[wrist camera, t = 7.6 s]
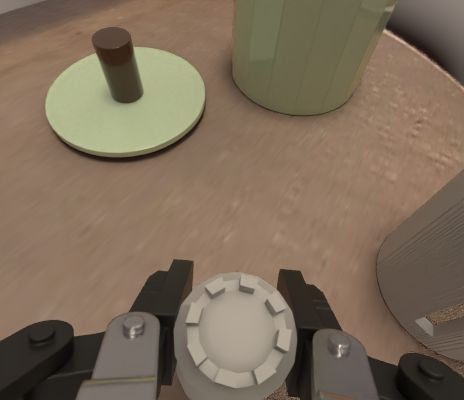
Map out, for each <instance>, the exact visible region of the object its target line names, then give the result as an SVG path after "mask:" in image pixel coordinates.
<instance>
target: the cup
mask: <svg viewBox="0 0 464 400" xmlns="http://www.w3.org/2000/svg"><path fill="white" fill-rule="evenodd" d="M376 265H377V269H376V270H377V276H378V277H377V278H378V283H379V287H380V290H381V293H382V296H383V298H384V300H385V302H386V304H387V306H388V308H389V309H390V311H391V313H392V314H393V316H395V318H396V319H397V321H399V323H400V325H402V327H404V329H405V330H406V331H407V332H408V333H409V334H410V335H412V337H414V338H415V339H416V340H418V341H419V342H420V343H422V344H423V345H425V346H426V347H427V348H430V350H433V351H435V352H436V353H438V354H441V355H443V356H445V357H448V358H450V359H455V360H457V361H462V362H463V361H464V317H461V318H457V319H454V320H450V321H447V322H443V323H440V324H436V325H434V324H432V323H431V322H430V321H428V320H427V318H426V316H429V315H432V314H435V313H438V312H441V311H444V310H447V309H450V308H453V307H456V306H458V305H461V304H464V169H463V170H462V171H461V172H460V173H459V174H458V175H456V176H455V177H454V178H453V179H452V180H451V181H450V182H449V183H447V184H446V185H445V186H444V187H443V188H442V189H441V190H440V191H438V192H437V193H436V194H435V195H434V196H433V197H432V198H431V199H429V200H428V201H427V202H426V203H425V204H424V205H423V206H421V207H420V208H419V209H418V210H417V211H416V212H415V213H414V214H412V215H411V216H410V217H409V218H408V219H407V220H406V221H405V222H403V223H402V224H401V225H400V226H399V227H398V228H397V229H396V230H394V231H393V232H392V233H391V234H390V235H389V236H388V237H387V238H386V240H385V241H384V243H383V244H382V246H381V248H380V250H379V253H378V258H377V264H376Z"/></svg>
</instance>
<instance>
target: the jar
mask: <svg viewBox="0 0 464 400" xmlns="http://www.w3.org/2000/svg"><path fill="white" fill-rule="evenodd" d="M396 2H397V0H234V9H233V31H232V53H231V63H232V75H233V79H234V81H235V83H236V85H237V86H238V88H239V89H240V90H241V91H242V92H243V94H245V95H246V96H247V97H248V98H249V99H251V100H252V101H254V102H255V103H257V104H259V105H261V106H263V107H265V108H267V109H270V110H273V111H276V112H280V113H284V114H290V115H305V116H306V115H316V114H322V113H326V112H329V111H332V110H334V109H336V108H338V107H340V106H341V105H343V104H344V103H345V102H346V101H348V99H349V98H350V97H351V95H352V94H353V92H354V91H355V90H356V88H357V86H358V84H359V82H360V80H361V77H362V75H363V73H364V71H365V69H366V67H367V65H368V62H369V60H370V58H371V56H372V54H373V52H374V50H375V47H376V45H377V43H378V41H379V39H380V37H381V35H382V32H383V30H384V28H385V26H386V24H387V22H388V20H389V17H390V15H391V13H392V11H393V9H394V7H395V5H396Z"/></svg>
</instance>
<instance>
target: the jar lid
mask: <svg viewBox="0 0 464 400" xmlns="http://www.w3.org/2000/svg"><path fill="white" fill-rule="evenodd" d="M92 43H93V46H94V49H95V52H96V54H93V55H90V56H88V57H86V58H83V59H81V60H80V61H78V62H76V63H74V64H73V65H71V66H70V67H68V68H67V69H66V70H65V71H64V72H62V73H61V74H60V75H59V76H58V77H57V79H56V80H55V81H54V82H53V84H52V85H51V87H50V89H49V91H48V94H47V97H46V101H45V111H46V116H47V119H48V121H49V124H50V125H51V127H52V128H53V130H54V131H55V133H56V134H57V135H58V136H59V137H60V138H61V139H62V140H63V141H64V142H66V143H67V144H68V145H70V146H72V147H74V148H76V149H78V150H80V151H83V152H86V153H89V154H93V155H97V156H105V157H131V156H137V155H143V154H147V153H150V152H154V151H157V150H159V149H162V148H164V147H167V146H169V145H170V144H172V143H174V142H176V141H177V140H179V139H180V138H182V137H183V136H184V135H186V134H187V133H188V132H189V131H190V130H191V129H192V128H193V127H194V126H195V125H196V123H197V122H198V120H199V119H200V117H201V115H202V112H203V110H204V106H205V99H206V93H205V86H204V83H203V80H202V78H201V76H200V74H199V73H198V72H197V70H196V69H195V68H194V67H193V66H192V65H191V64H190V63H188V62H187V61H185V60H184V59H182V58H180V57H179V56H177V55H174V54H172V53H169V52H166V51H163V50H158V49H153V48H145V47H133V44H132V40H131V35H130V34H129V32H128V31H127V30H125V29H122V28H118V27H109V28H104V29H101V30H99V31H97V32H96V33H95V34H94V35H93V36H92Z"/></svg>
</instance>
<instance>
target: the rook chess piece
mask: <svg viewBox="0 0 464 400" xmlns="http://www.w3.org/2000/svg"><path fill="white" fill-rule="evenodd" d="M296 347H297V331H296V326H295V322H294V318H293V314H292V311H291V309H290V308H289V306H288V305H287V303H286V302H285V300H284V299H283V297H282V295H281V294H280V292H279V291H278V290H276V289H275V288H274V287H272V286H271V285H270V284H268V283H267V282H266V281H264V280H263V279H261V278H260V277H256V276H253V275H249V274H245V273H241V272H232V273H224V274H217V275H215V276H213V277H211V278H209V279H208V280H206V281H204V282H202V283H200V284H198V285H197V286H196V287H195V288H194V290H193V291H192V292H191V293H190V294H189V296H188V297H187V298H186V299H185V300H184V302H183V303H182V304H181V307H180V310H179V313H178V316H177V319H176V322H175V327H174V351H175V357H176V359H177V365H176V373H177V376H178V379H179V381H180V383H181V385H182V388H183V390H184V392H185V395H186V396H187V397H189V398H190V399H191V400H264V399H265V398H266V397H268V396H269V395H270V394H272V393H273V392H274V391H276V390H277V389H279V388H280V387H281V386H282V384H283V382H284V381H285V379H286V377H287V375H288V373H289V372H290V370H291V368H292V366H293V365H294V362H295V354H296Z"/></svg>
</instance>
